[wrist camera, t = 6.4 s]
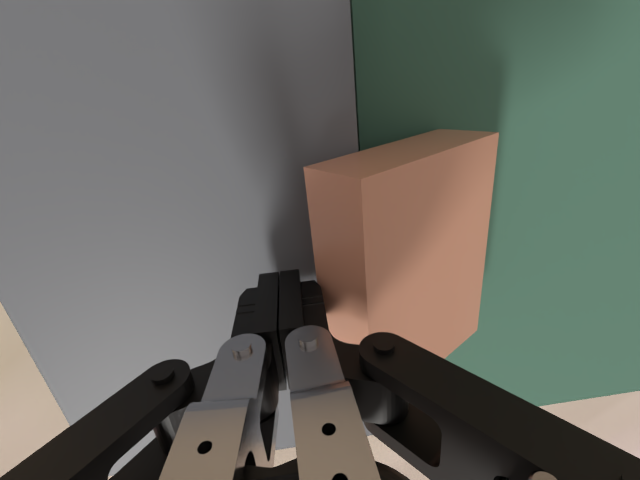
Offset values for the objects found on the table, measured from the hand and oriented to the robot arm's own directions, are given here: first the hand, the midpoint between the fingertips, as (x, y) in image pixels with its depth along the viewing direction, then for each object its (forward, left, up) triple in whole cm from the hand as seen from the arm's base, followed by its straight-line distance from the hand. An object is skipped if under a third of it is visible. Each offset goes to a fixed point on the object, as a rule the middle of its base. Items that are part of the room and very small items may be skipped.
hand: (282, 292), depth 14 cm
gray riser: (0, -4, -4) cm, 5 cm away
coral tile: (0, +4, -1) cm, 4 cm away
